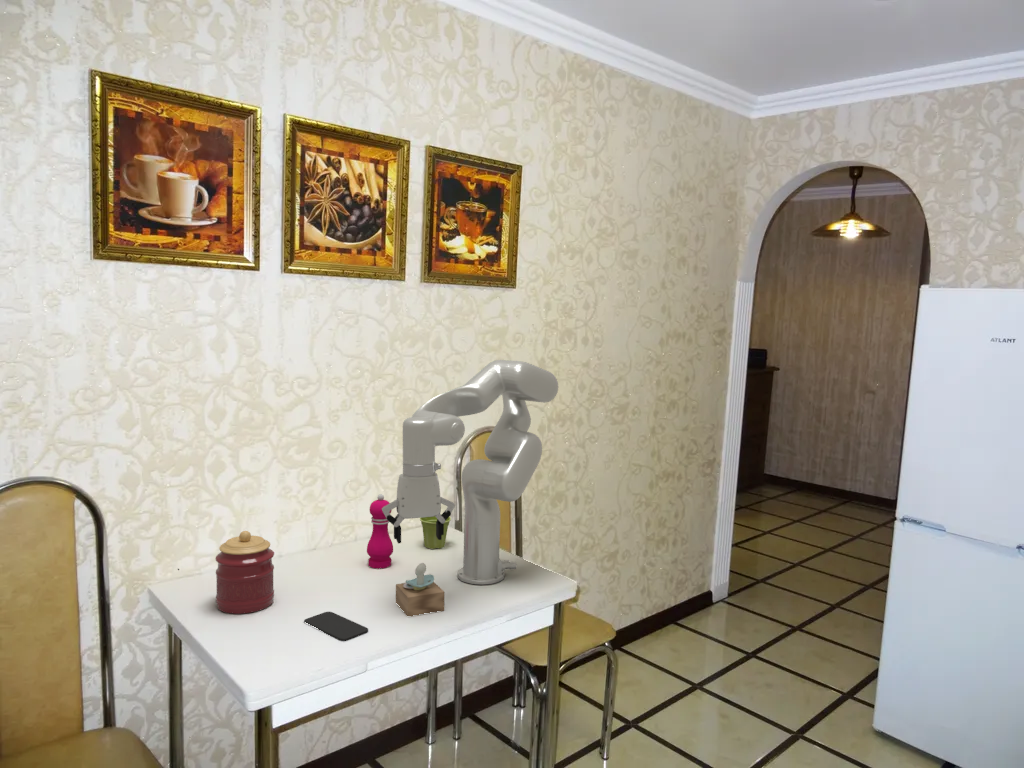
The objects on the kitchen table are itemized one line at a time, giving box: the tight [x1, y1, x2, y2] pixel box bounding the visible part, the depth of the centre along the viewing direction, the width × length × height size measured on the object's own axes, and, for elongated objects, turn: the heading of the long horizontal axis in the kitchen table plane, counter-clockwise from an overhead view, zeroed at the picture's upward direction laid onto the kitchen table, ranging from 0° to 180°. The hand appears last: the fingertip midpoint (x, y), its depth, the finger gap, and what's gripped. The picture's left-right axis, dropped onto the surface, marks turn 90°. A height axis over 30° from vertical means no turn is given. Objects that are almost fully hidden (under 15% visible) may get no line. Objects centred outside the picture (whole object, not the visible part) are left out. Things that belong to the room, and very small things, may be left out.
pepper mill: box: [366, 493, 394, 570], centre depth 199 cm, size 7×7×20 cm
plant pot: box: [419, 513, 452, 550], centre depth 217 cm, size 9×9×9 cm
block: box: [395, 580, 445, 617], centre depth 172 cm, size 9×9×5 cm
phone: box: [303, 611, 369, 642], centre depth 160 cm, size 7×1×15 cm
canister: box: [215, 530, 275, 615], centre depth 170 cm, size 13×13×18 cm
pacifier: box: [403, 562, 435, 590], centre depth 172 cm, size 7×6×6 cm
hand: (418, 539), depth 172 cm, fingers open, 9 cm apart
